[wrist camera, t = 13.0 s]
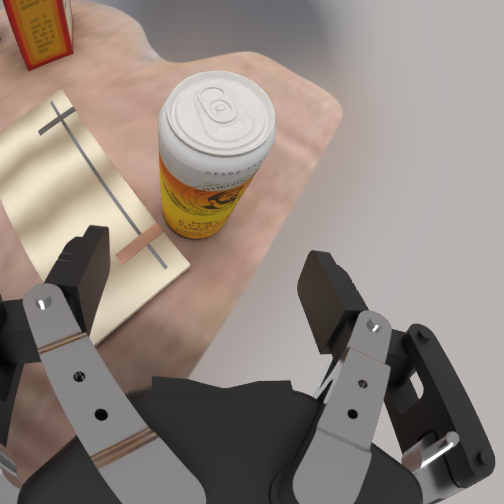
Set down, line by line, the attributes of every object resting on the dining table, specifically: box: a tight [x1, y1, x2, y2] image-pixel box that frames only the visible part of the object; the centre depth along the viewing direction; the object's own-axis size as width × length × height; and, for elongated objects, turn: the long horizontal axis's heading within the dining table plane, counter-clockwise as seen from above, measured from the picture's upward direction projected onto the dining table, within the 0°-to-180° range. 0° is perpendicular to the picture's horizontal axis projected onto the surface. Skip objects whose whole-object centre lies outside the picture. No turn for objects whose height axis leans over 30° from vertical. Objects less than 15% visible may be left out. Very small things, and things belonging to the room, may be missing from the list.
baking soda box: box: [3, 0, 73, 71], centre depth 19 cm, size 10×6×16 cm
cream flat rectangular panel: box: [0, 89, 190, 347], centre depth 23 cm, size 24×11×2 cm, turn 41°
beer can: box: [158, 71, 276, 239], centre depth 20 cm, size 6×6×15 cm
